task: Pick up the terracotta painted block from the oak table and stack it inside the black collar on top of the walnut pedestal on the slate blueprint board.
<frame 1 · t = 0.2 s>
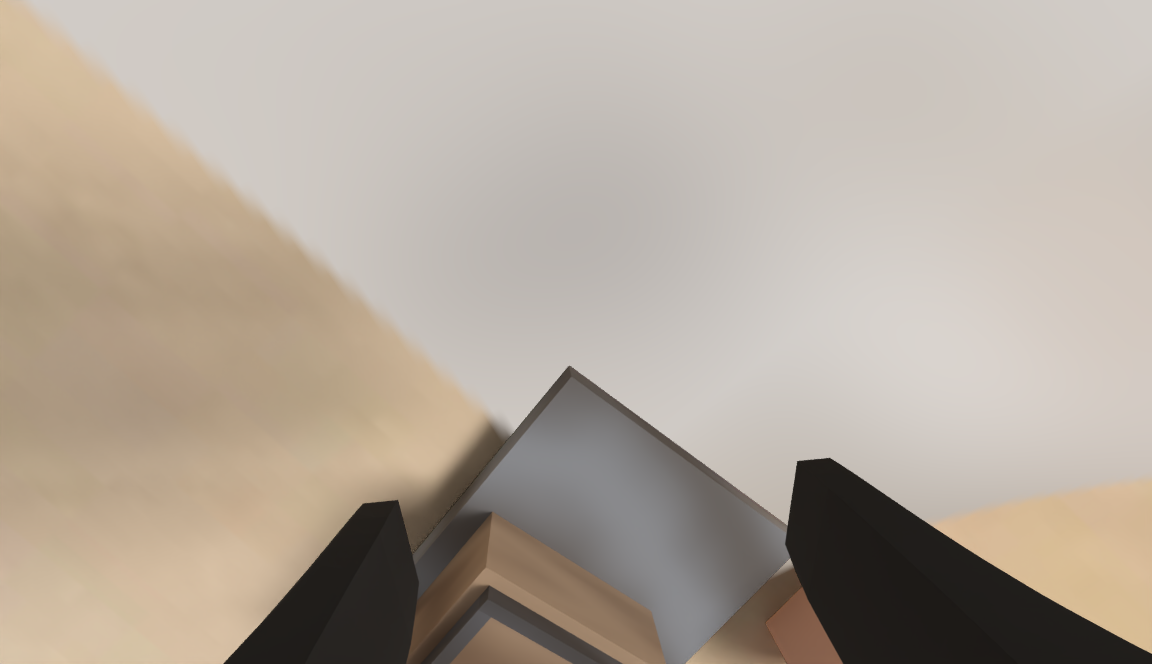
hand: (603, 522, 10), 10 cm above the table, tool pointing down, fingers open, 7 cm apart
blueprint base: (562, 588, 23), on the table
terracotta block: (832, 611, 24), on the table
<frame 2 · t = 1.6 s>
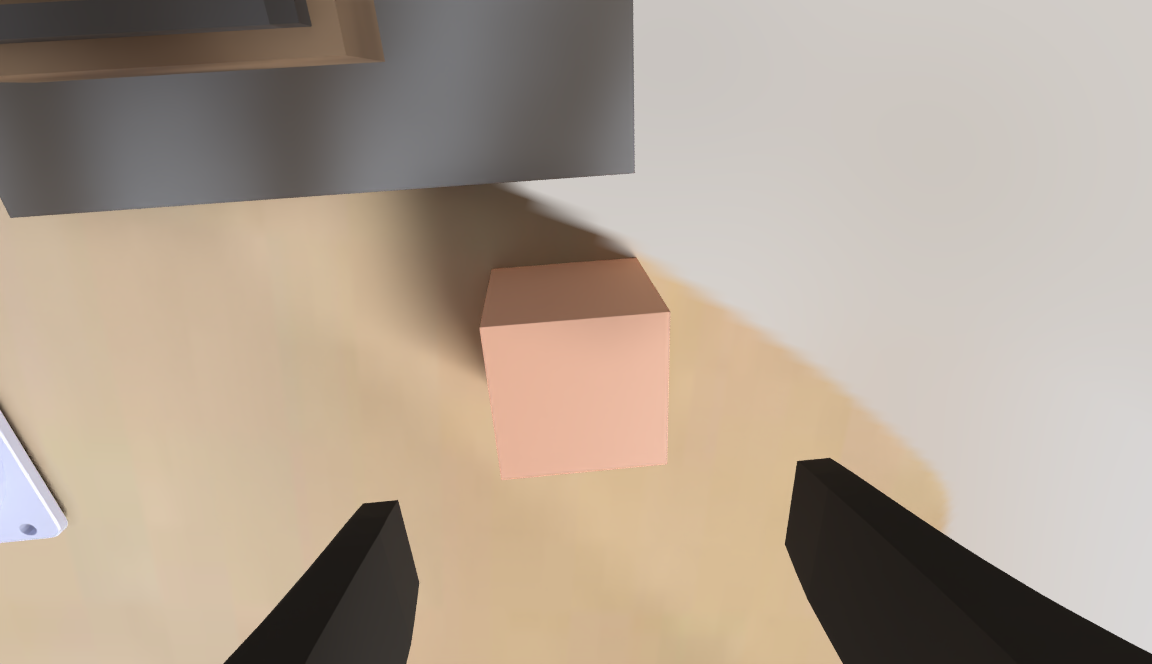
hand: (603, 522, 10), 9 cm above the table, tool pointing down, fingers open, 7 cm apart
terracotta block: (568, 328, 18), on the table
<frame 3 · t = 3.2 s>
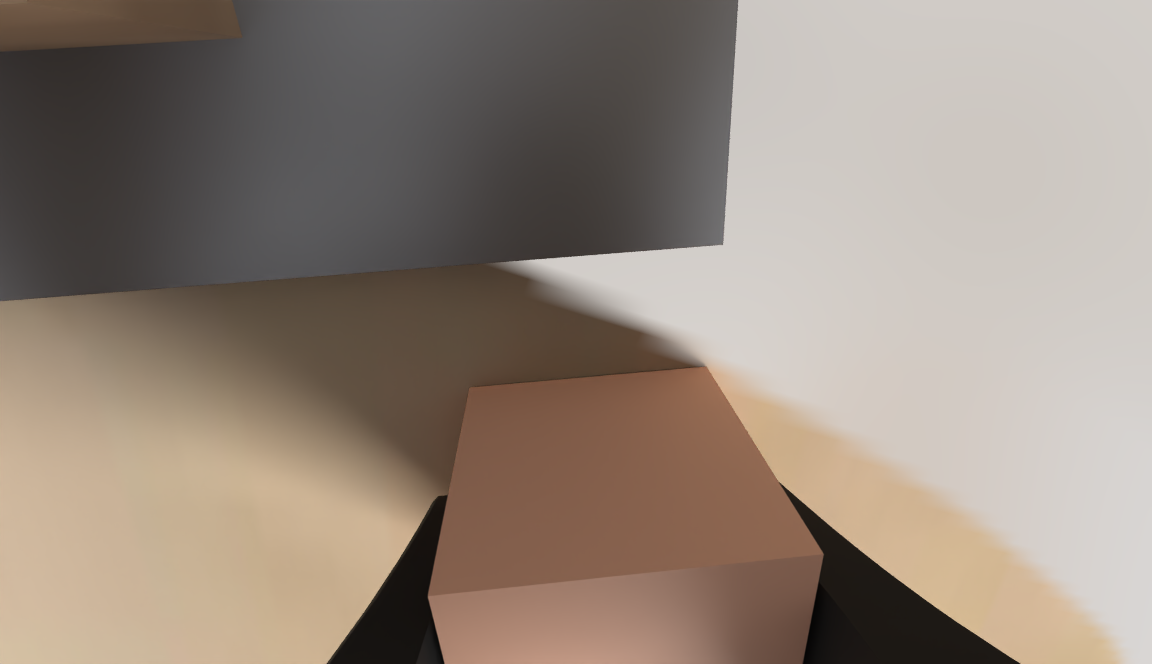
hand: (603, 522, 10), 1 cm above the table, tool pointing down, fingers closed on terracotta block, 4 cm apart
terracotta block: (594, 471, 11), on the table, touching gripper
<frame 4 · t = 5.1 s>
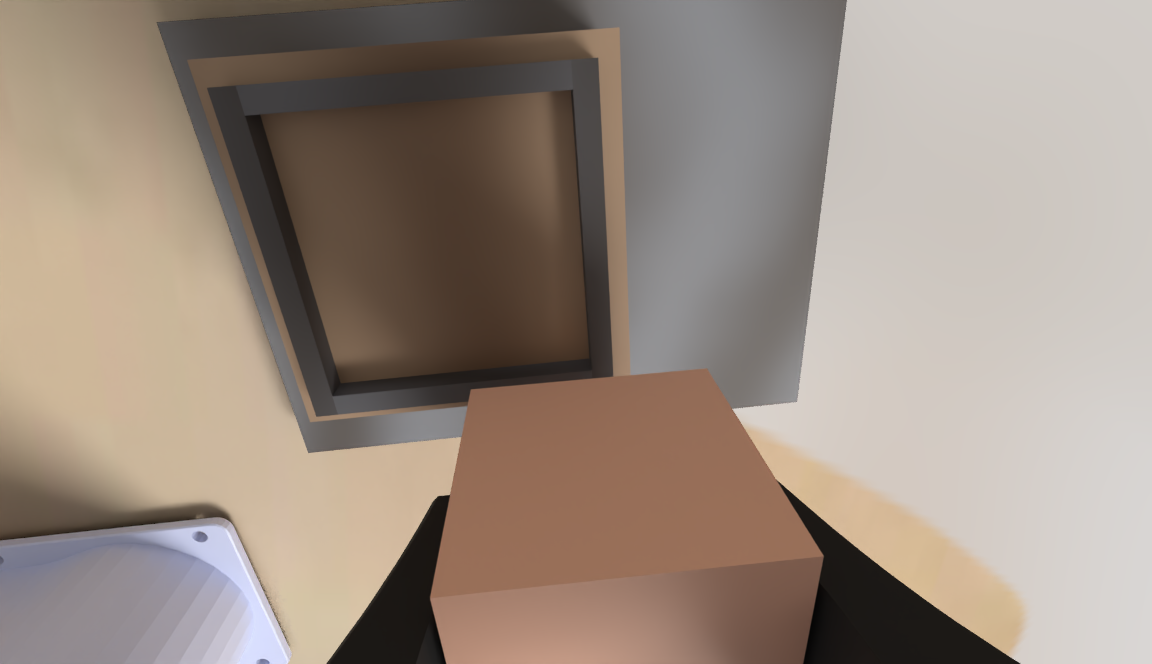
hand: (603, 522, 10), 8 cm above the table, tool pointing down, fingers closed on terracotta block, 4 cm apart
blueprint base: (538, 237, 16), on the table
terracotta block: (595, 472, 11), point 7 cm above the table, touching gripper
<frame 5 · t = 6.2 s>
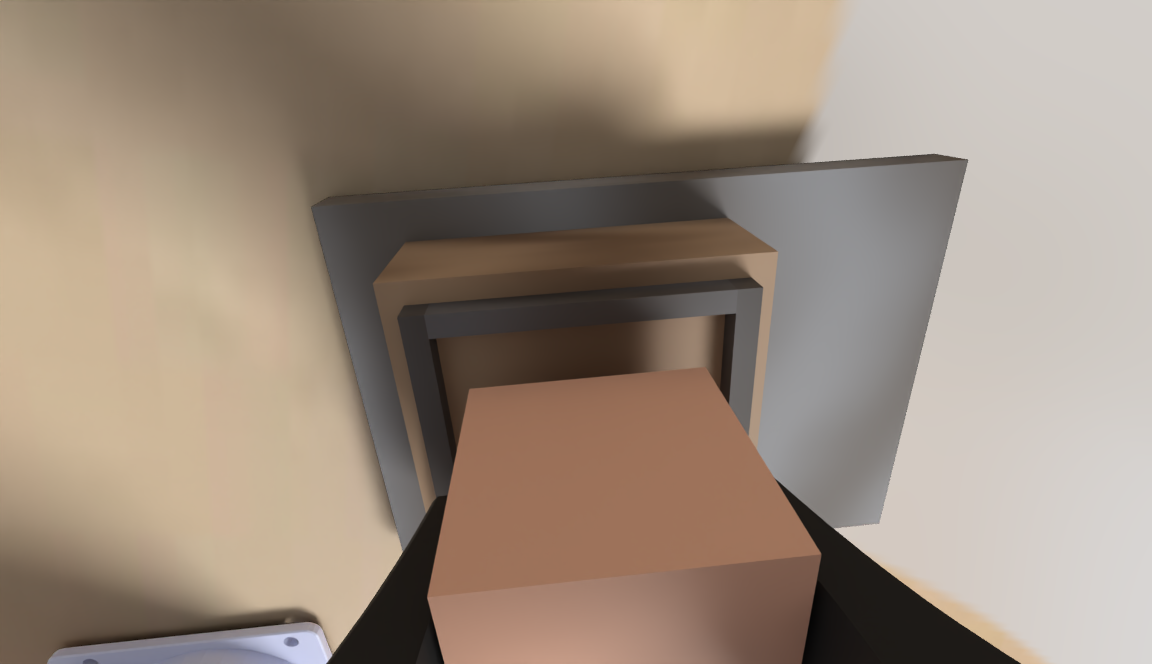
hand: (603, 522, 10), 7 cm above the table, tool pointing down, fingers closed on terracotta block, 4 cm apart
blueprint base: (641, 374, 16), on the table
terracotta block: (594, 471, 11), point 5 cm above the table, touching gripper
when the fingers open (7 cm above the table, at t = 6.7 s): terracotta block drops 1 cm, resting on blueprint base.
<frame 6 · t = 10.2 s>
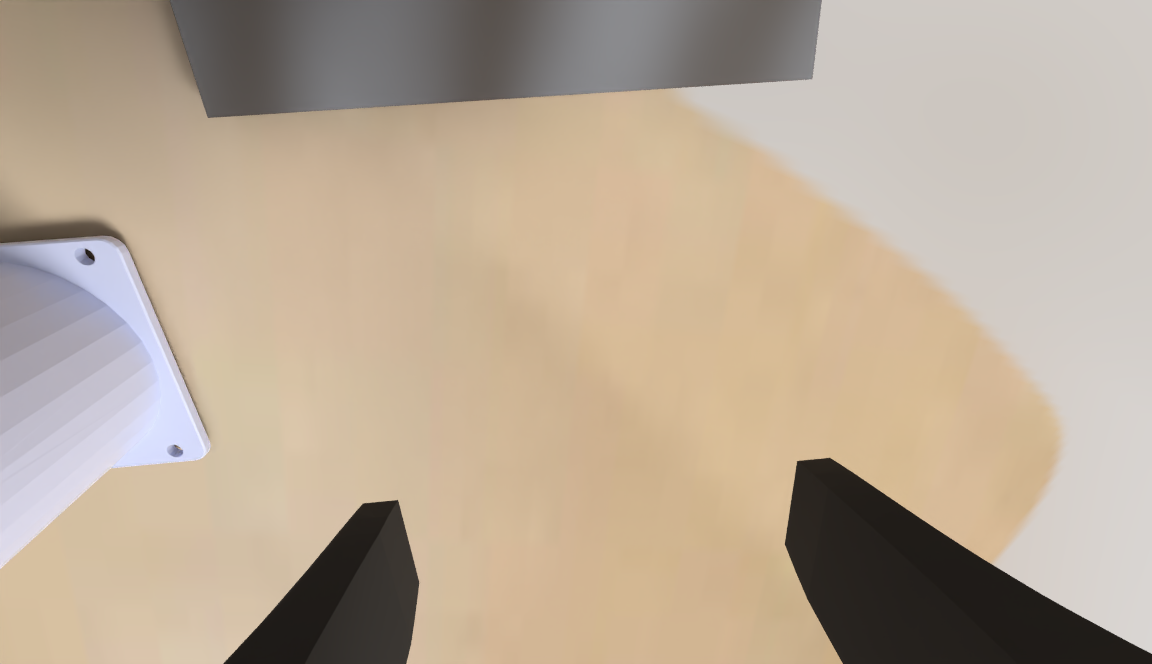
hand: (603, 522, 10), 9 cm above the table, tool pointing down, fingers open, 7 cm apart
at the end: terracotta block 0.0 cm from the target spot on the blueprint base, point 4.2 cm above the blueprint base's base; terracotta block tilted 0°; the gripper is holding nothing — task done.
